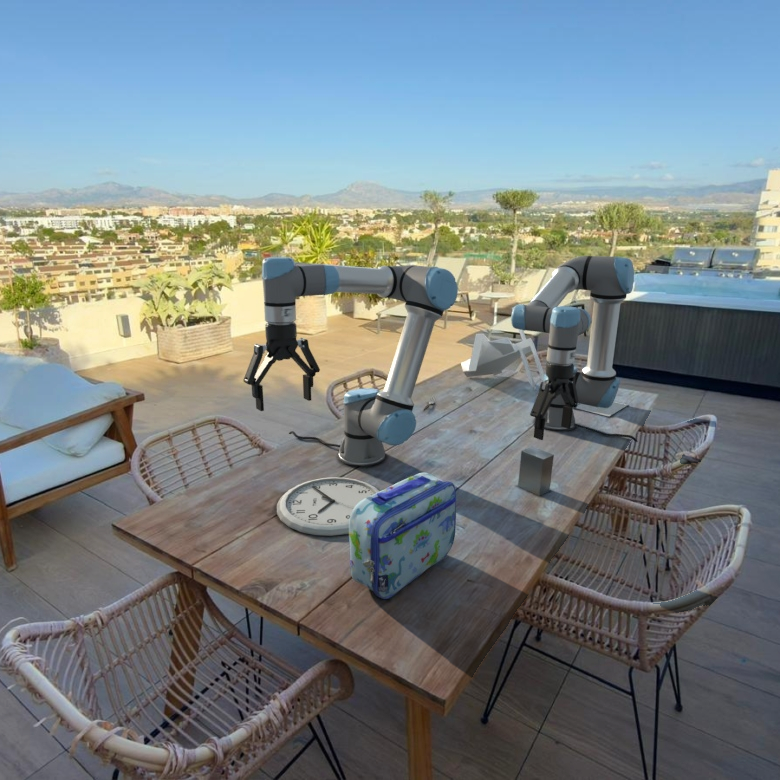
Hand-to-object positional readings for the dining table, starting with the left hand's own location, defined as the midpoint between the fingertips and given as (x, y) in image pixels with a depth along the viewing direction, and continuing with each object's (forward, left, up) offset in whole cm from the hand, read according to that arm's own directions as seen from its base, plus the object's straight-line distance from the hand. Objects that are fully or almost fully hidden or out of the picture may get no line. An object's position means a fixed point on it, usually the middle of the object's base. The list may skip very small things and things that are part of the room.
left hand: (284, 404), depth 134 cm
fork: (+11, +94, -29) cm, 99 cm away
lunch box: (+39, -16, -29) cm, 51 cm away
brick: (+61, +36, -29) cm, 77 cm away
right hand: (+64, +41, -13) cm, 78 cm away
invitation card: (+80, +124, -29) cm, 150 cm away
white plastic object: (+33, +141, -29) cm, 147 cm away
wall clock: (+11, +4, -29) cm, 31 cm away
